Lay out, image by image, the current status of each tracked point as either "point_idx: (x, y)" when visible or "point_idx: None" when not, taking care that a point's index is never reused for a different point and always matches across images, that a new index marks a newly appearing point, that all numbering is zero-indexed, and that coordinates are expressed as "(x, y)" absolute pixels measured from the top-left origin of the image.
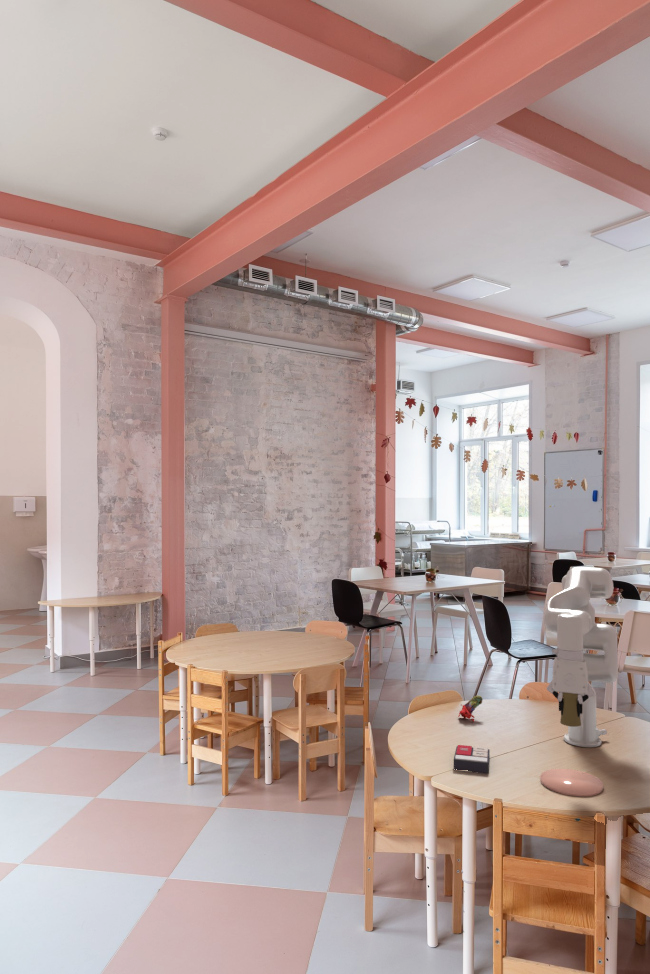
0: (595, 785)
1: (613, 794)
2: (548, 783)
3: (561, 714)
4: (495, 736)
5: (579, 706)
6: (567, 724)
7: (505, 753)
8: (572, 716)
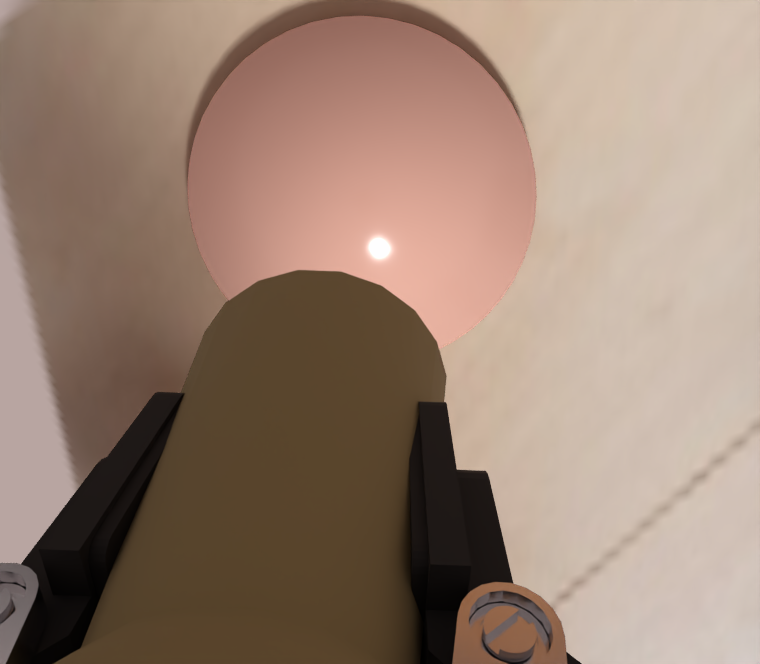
0: (226, 192)
1: (132, 149)
2: (488, 105)
3: (437, 402)
4: (724, 636)
5: (75, 515)
6: (348, 283)
7: (698, 474)
8: (257, 349)
